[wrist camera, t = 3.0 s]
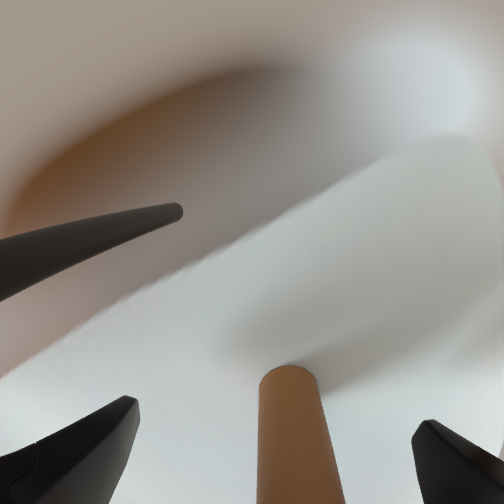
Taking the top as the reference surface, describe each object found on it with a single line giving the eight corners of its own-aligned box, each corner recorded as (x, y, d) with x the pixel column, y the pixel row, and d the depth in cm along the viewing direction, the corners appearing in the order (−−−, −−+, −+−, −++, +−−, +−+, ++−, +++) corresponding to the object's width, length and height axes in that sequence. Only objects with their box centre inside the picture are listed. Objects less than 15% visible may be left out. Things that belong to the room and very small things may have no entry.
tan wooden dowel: (247, 382, 9) (229, 615, 1) (296, 354, 9) (338, 608, 1) (279, 414, 9) (289, 615, 2) (325, 389, 9) (378, 599, 1)
